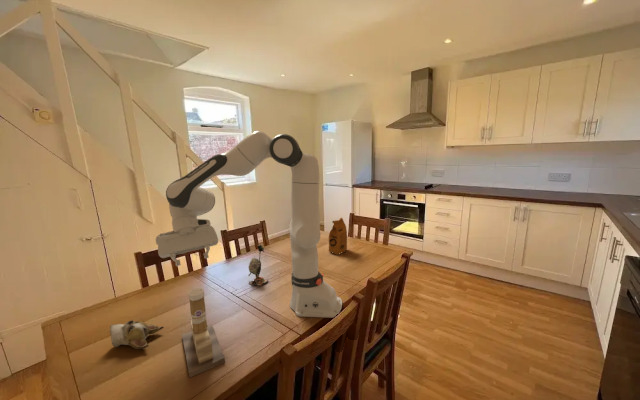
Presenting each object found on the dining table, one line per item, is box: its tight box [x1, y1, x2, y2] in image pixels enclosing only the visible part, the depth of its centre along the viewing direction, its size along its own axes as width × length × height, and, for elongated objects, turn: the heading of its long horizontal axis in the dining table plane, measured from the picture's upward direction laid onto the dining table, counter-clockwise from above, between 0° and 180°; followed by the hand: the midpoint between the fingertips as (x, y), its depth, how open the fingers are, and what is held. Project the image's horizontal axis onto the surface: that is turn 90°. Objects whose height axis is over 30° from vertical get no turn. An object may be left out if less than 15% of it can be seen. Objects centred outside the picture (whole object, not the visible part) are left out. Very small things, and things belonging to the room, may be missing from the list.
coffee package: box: [328, 217, 348, 255], centre depth 168 cm, size 10×12×22 cm
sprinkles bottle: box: [187, 288, 208, 333], centre depth 83 cm, size 5×5×13 cm
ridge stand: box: [181, 318, 226, 378], centre depth 84 cm, size 20×10×8 cm, turn 34°
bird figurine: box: [248, 244, 269, 286], centre depth 128 cm, size 8×11×20 cm
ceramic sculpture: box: [109, 320, 164, 350], centre depth 88 cm, size 11×9×15 cm
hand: (192, 261), depth 93 cm, fingers open, 8 cm apart
